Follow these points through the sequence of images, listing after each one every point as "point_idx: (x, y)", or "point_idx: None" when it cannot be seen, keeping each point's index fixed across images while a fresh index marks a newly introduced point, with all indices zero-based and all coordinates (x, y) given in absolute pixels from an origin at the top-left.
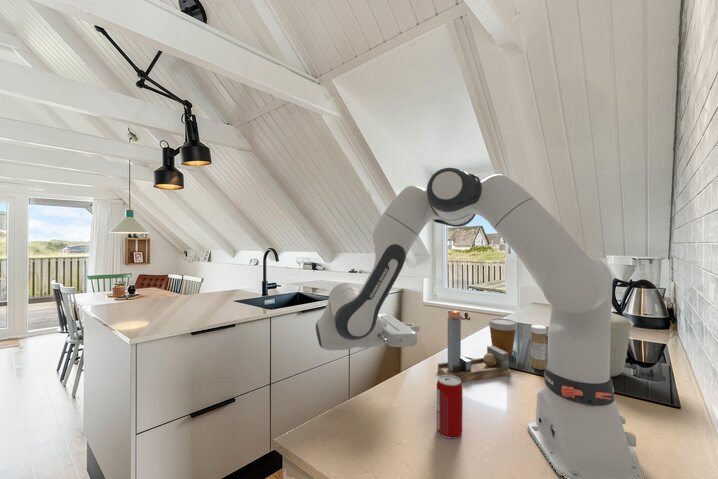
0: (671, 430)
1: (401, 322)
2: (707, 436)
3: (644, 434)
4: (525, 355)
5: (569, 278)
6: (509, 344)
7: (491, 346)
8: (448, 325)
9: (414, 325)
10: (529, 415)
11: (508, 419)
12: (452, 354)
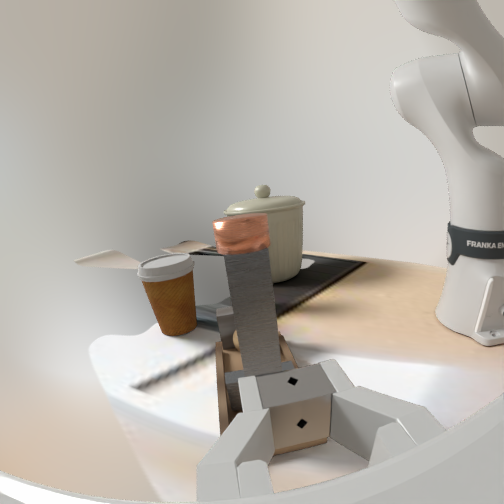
0: (414, 271)
1: (334, 485)
2: (414, 263)
3: (433, 282)
4: (199, 308)
5: None
6: (194, 299)
7: (219, 311)
8: (238, 289)
9: (325, 382)
10: (443, 343)
11: (471, 364)
12: None
